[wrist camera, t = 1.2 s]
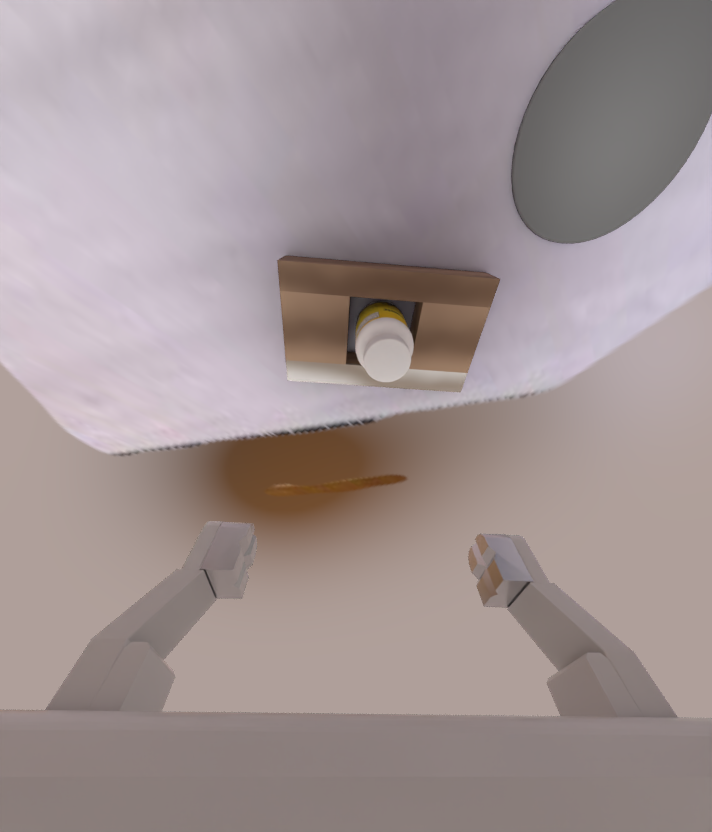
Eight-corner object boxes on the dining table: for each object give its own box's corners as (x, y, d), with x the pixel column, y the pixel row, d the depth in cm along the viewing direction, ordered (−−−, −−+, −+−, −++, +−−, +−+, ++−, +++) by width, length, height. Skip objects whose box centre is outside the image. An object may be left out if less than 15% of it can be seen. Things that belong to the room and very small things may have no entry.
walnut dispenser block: (285, 255, 27) (277, 260, 24) (486, 272, 28) (500, 279, 25) (293, 367, 34) (287, 380, 31) (452, 378, 35) (460, 392, 32)
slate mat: (565, -26, 17) (571, -33, 17) (772, 0, 18) (783, -5, 18) (487, 236, 26) (489, 236, 25) (630, 249, 26) (635, 249, 26)
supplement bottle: (413, 328, 31) (432, 367, 23) (374, 356, 33) (379, 401, 25) (385, 287, 28) (396, 316, 21) (345, 320, 31) (341, 357, 23)
